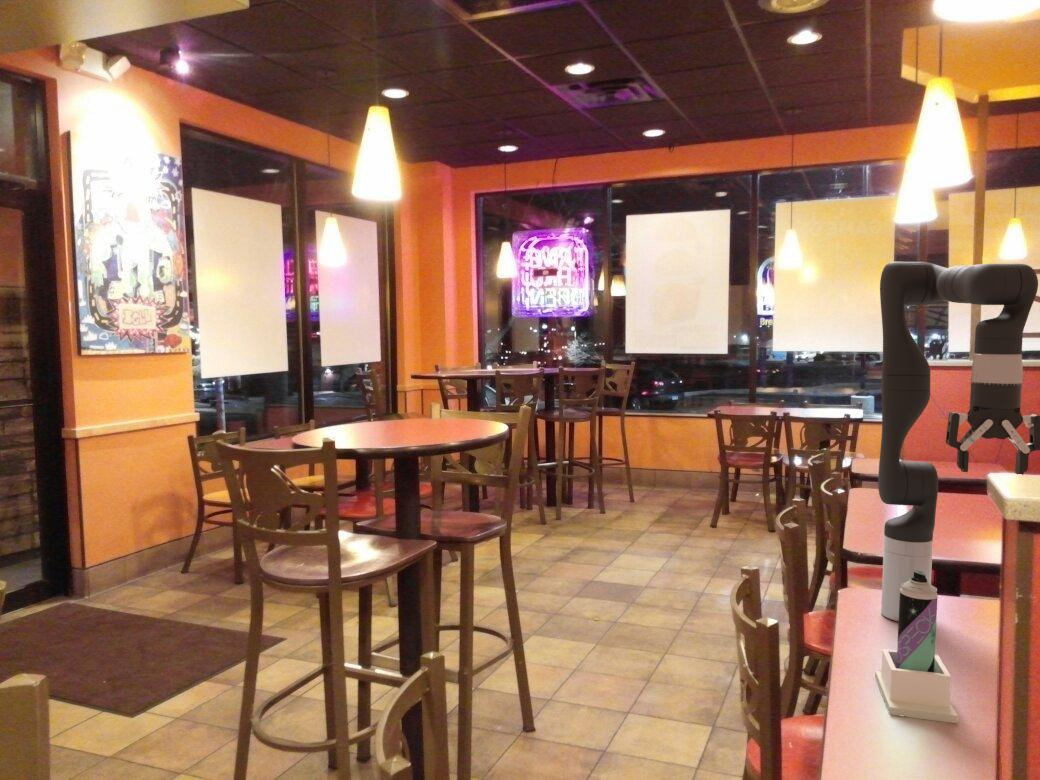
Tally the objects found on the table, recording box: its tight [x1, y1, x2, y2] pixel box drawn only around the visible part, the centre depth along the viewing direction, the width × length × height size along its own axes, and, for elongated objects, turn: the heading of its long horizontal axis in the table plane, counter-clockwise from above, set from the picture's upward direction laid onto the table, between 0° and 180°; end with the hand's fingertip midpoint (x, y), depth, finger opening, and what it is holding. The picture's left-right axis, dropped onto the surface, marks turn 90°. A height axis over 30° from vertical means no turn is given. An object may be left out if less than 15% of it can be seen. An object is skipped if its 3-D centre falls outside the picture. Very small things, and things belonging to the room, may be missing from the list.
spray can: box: [896, 571, 939, 673], centre depth 128 cm, size 6×6×20 cm
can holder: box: [874, 648, 958, 724], centre depth 128 cm, size 14×10×6 cm
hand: (991, 472), depth 136 cm, fingers open, 8 cm apart
